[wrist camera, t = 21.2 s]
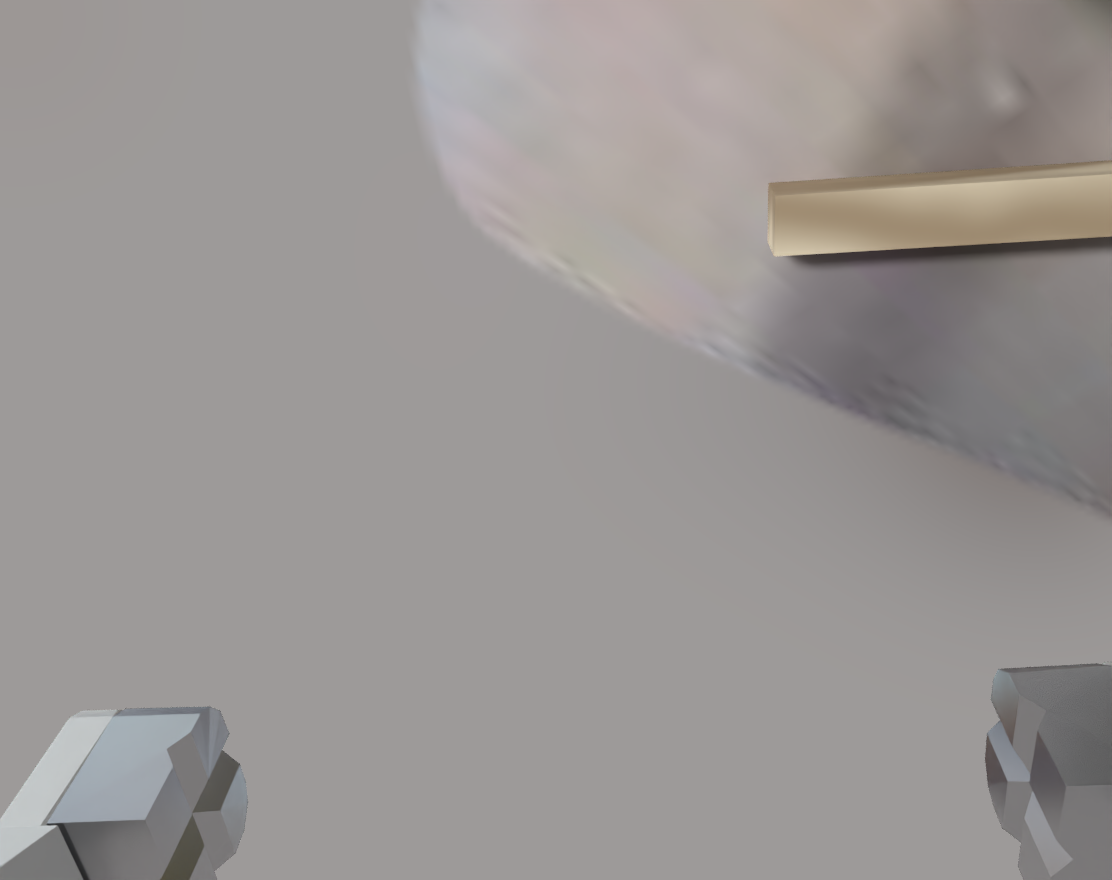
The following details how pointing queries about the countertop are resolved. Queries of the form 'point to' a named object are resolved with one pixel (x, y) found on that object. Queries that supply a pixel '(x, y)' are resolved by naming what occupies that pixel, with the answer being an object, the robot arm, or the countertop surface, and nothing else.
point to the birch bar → (941, 209)
